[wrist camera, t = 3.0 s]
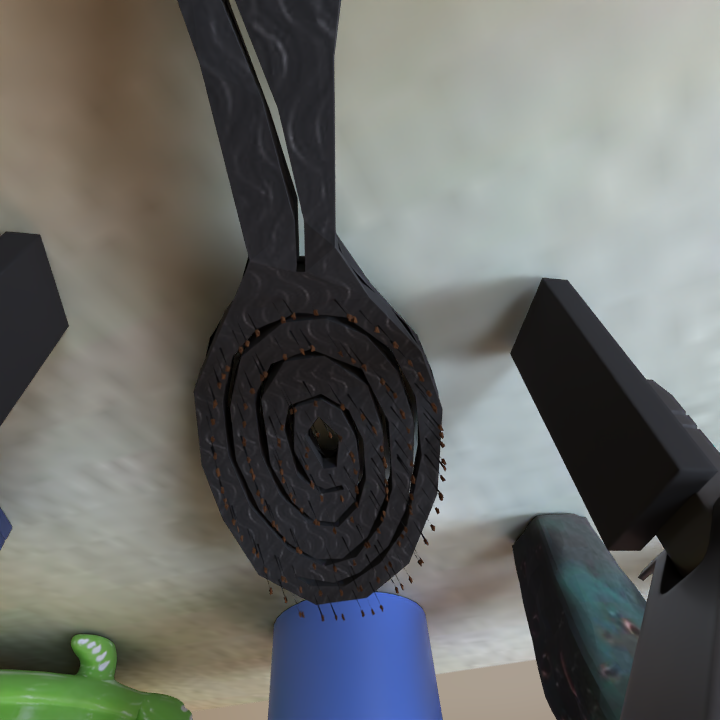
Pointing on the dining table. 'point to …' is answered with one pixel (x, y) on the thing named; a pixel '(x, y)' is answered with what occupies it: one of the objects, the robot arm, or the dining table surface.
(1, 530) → the tray
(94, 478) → the dining table surface
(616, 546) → the robot arm
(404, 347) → the hairbrush
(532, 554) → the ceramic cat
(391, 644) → the water bottle
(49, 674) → the turtle holder
